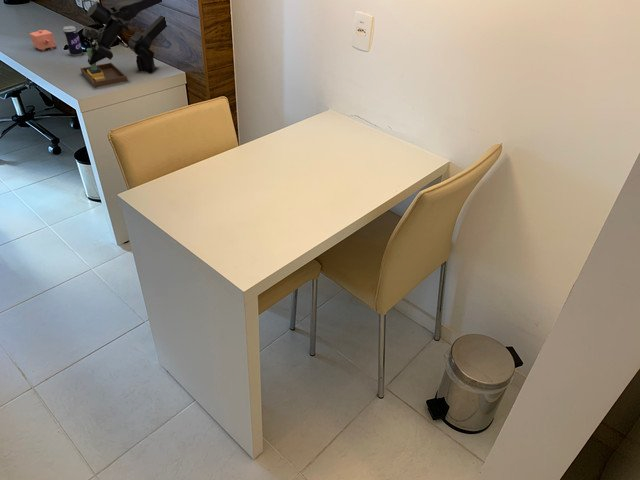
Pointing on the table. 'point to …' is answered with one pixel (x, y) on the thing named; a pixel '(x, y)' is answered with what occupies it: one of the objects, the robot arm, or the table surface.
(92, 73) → the sponge wand
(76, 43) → the beverage can
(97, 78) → the tan rectangular slab
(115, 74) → the tray
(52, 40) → the pink cube teapot
